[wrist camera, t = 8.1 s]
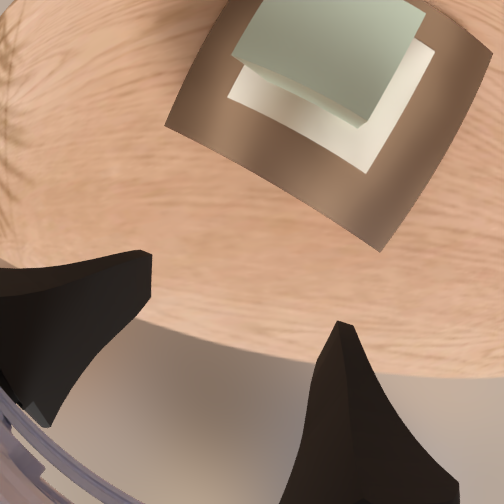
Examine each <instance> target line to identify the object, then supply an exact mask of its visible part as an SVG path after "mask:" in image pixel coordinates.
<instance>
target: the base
mask: <svg viewBox="0 0 504 504" xmlns="http://www.w3.org/2000/svg"><path fill="white" fill-rule="evenodd" d="M404 1H406V2H408V3H409V4H411V5H413V6H414V7H416V8H418V9H420V10H421V11H423V12H424V13H426V15H425V17H424V19H423V21H422V23H421V25H420V27H419V28H418V30H417V32H416V34H415V36H414V38H413V40H412V42H411V44H410V46H409V48H408V49H407V51H406V53H405V55H404V57H403V59H402V61H401V62H400V64H399V66H398V68H397V70H396V72H395V73H394V75H393V77H392V79H391V81H390V83H389V84H388V86H387V88H386V90H385V91H384V93H383V95H382V97H381V99H380V100H379V102H378V104H377V106H376V107H375V109H374V111H373V113H372V114H371V116H370V118H369V120H368V121H367V122H366V123H364V124H363V125H362V126H360V127H359V128H358V129H357V128H355V127H354V126H352V125H350V124H349V123H347V122H345V121H344V120H342V119H340V118H338V117H337V116H335V115H333V114H331V113H330V112H328V111H326V110H324V109H322V108H321V107H319V106H317V105H315V104H313V103H311V102H309V101H307V100H305V99H303V98H301V97H299V96H297V95H295V94H293V93H291V92H289V91H287V90H285V89H283V88H281V87H279V86H276V85H274V84H272V83H270V82H267V81H266V80H265V79H263V78H262V77H261V76H259V75H258V74H257V73H255V72H254V71H253V70H251V69H250V68H249V67H247V66H246V65H245V64H243V63H242V62H240V61H239V60H238V59H236V58H235V57H233V56H232V55H231V54H232V52H233V50H234V49H235V47H236V45H237V43H238V41H239V40H240V38H241V36H242V35H243V33H244V31H245V29H246V28H247V26H248V24H249V23H250V21H251V19H252V18H253V16H254V15H255V13H256V11H257V10H258V8H259V7H260V5H261V3H262V2H263V0H229V1H228V3H227V4H226V6H225V7H224V9H223V10H222V12H221V14H220V15H219V17H218V19H217V20H216V22H215V24H214V25H213V27H212V29H211V31H210V32H209V34H208V36H207V38H206V39H205V41H204V43H203V45H202V47H201V49H200V51H199V52H198V54H197V56H196V58H195V60H194V62H193V64H192V66H191V68H190V70H189V72H188V74H187V76H186V78H185V80H184V82H183V84H182V87H181V89H180V91H179V93H178V95H177V97H176V100H175V102H174V104H173V106H172V109H171V111H170V113H169V116H168V118H167V120H166V123H165V125H164V126H166V127H168V128H170V129H172V130H174V131H176V132H178V133H180V134H182V135H184V136H186V137H188V138H190V139H192V140H194V141H196V142H198V143H200V144H201V145H203V146H205V147H207V148H209V149H211V150H213V151H215V152H217V153H219V154H220V155H222V156H224V157H226V158H228V159H230V160H231V161H233V162H235V163H237V164H239V165H241V166H242V167H244V168H246V169H248V170H249V171H251V172H253V173H255V174H257V175H258V176H260V177H262V178H264V179H265V180H267V181H269V182H270V183H272V184H274V185H276V186H277V187H279V188H281V189H282V190H284V191H286V192H287V193H289V194H291V195H292V196H294V197H296V198H297V199H299V200H300V201H302V202H304V203H305V204H307V205H309V206H310V207H312V208H313V209H315V210H317V211H318V212H320V213H321V214H323V215H324V216H326V217H328V218H329V219H331V220H332V221H334V222H335V223H337V224H338V225H340V226H341V227H343V228H344V229H346V230H348V231H349V232H351V233H352V234H354V235H355V236H356V237H358V238H359V239H361V240H362V241H364V242H365V243H367V244H368V245H370V246H371V247H373V248H374V249H375V250H377V251H378V252H381V251H382V250H383V248H384V247H385V245H386V244H387V243H388V241H389V240H390V239H391V237H392V236H393V234H394V233H395V232H396V230H397V229H398V227H399V226H400V224H401V223H402V222H403V220H404V219H405V217H406V216H407V214H408V213H409V211H410V210H411V208H412V207H413V205H414V204H415V202H416V201H417V199H418V198H419V196H420V195H421V193H422V191H423V190H424V188H425V187H426V185H427V184H428V182H429V180H430V179H431V177H432V175H433V174H434V172H435V170H436V169H437V167H438V165H439V164H440V162H441V160H442V159H443V157H444V155H445V153H446V152H447V150H448V148H449V146H450V144H451V143H452V141H453V139H454V137H455V135H456V133H457V132H458V130H459V128H460V126H461V124H462V122H463V120H464V118H465V116H466V114H467V112H468V110H469V108H470V106H471V104H472V102H473V100H474V97H475V95H476V93H477V91H478V89H479V87H480V84H481V82H482V80H483V77H484V75H485V73H486V70H487V68H488V65H489V63H490V60H491V58H492V55H493V53H492V52H491V51H490V50H489V49H488V48H487V47H486V46H484V45H483V44H482V43H481V42H480V41H479V40H477V39H476V38H475V37H474V36H473V35H471V34H470V33H469V32H468V31H466V30H465V29H464V28H462V27H461V26H460V25H458V24H457V23H456V22H454V21H453V20H452V19H450V18H449V17H447V16H446V15H445V14H443V13H442V12H440V11H439V10H437V9H436V8H434V7H433V6H431V5H429V4H428V3H426V2H425V1H423V0H404Z"/></svg>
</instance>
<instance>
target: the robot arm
mask: <svg viewBox="0 0 504 504" xmlns="http://www.w3.org/2000/svg"><path fill="white" fill-rule="evenodd" d="M151 275H152V254H150V253H147V252H145V251H142V250H133V251H128V252H123V253H118V254H113V255H109V256H105V257H100V258H96V259H92V260H87V261H82V262H77V263H72V264H67V265H60V266H53V267H44V268H23V269H11V268H0V504H74V503H72V502H71V501H70V500H68V499H67V498H66V497H64V496H63V495H62V494H61V493H59V492H58V491H57V490H56V489H54V488H53V487H52V486H51V485H50V484H48V483H47V482H46V481H45V480H44V479H43V478H42V477H40V475H41V474H42V473H43V472H44V471H45V467H44V466H43V465H42V464H41V463H40V462H39V461H38V460H37V459H36V458H35V457H34V456H33V455H32V454H31V453H30V452H29V451H28V450H27V449H26V448H25V447H24V446H23V445H22V444H21V443H20V442H19V441H18V440H17V439H16V438H15V437H14V436H13V434H12V433H11V428H12V427H11V424H12V425H13V427H14V428H15V429H16V430H17V431H18V432H19V433H20V434H21V435H22V436H23V437H24V438H25V439H26V440H27V441H28V442H29V443H30V444H31V445H32V446H33V447H34V448H35V449H36V450H37V451H38V452H39V453H40V454H41V455H42V456H43V457H44V458H46V459H47V460H48V461H49V462H50V463H51V464H52V465H53V466H55V467H56V468H57V469H58V470H59V471H60V472H62V473H63V474H64V475H65V476H67V477H68V478H69V479H70V480H72V481H73V482H74V483H76V484H77V485H78V486H80V487H81V488H82V489H84V490H85V491H86V492H88V493H89V494H91V495H92V496H94V497H95V498H97V499H98V500H100V501H101V502H102V503H104V504H144V503H142V502H140V501H139V500H137V499H135V498H133V497H131V496H130V495H128V494H126V493H125V492H123V491H121V490H120V489H118V488H116V487H115V486H113V485H111V484H110V483H108V482H107V481H105V480H104V479H102V478H101V477H99V476H98V475H96V474H95V473H93V472H92V471H91V470H89V469H88V468H86V467H85V466H83V465H82V464H81V463H80V462H78V461H77V460H76V459H74V458H73V457H72V456H71V455H69V454H68V453H67V452H66V451H64V450H63V449H62V448H61V447H60V446H58V445H57V444H56V443H55V442H54V441H53V440H52V439H50V438H49V437H48V436H47V435H46V434H45V433H44V432H43V431H42V430H41V429H40V428H38V427H37V426H36V425H35V424H34V423H33V422H32V421H31V420H30V419H29V418H28V417H27V416H26V415H25V414H24V413H23V412H22V411H21V409H20V408H18V406H17V405H16V403H17V404H18V405H19V406H20V407H21V408H22V409H23V410H25V411H26V412H27V413H28V414H29V415H30V416H31V417H32V418H33V419H34V420H35V421H36V422H37V423H38V424H39V425H40V426H41V427H44V428H49V427H51V425H52V423H53V421H54V419H55V417H56V415H57V413H58V411H59V409H60V407H61V405H62V403H63V402H64V400H65V399H66V397H67V395H68V394H69V392H70V390H71V388H72V387H73V386H74V384H75V383H76V381H77V380H78V378H79V377H80V376H81V374H82V373H83V371H84V370H85V369H86V367H87V366H88V365H89V364H90V362H91V361H92V360H93V359H94V357H95V356H96V355H97V353H99V352H100V351H101V349H102V348H103V347H104V346H105V345H107V344H108V343H109V342H110V341H111V340H112V339H113V338H114V337H115V336H116V335H117V334H118V333H119V332H120V331H121V330H122V329H123V328H124V327H125V326H126V325H127V324H128V323H129V322H130V321H131V320H133V319H134V318H135V317H136V316H137V314H138V313H139V312H140V311H141V310H142V308H143V307H144V306H145V304H146V303H147V302H148V300H149V299H150V298H151ZM279 504H460V493H459V483H458V481H457V480H455V479H454V478H453V477H452V476H451V475H450V474H449V473H448V472H447V471H445V470H444V469H443V468H442V467H441V466H440V465H439V464H438V463H437V462H436V461H435V460H434V459H433V458H432V457H431V456H430V455H429V454H428V453H427V451H426V450H425V449H424V448H423V447H422V446H421V445H420V443H419V442H418V441H417V440H416V439H415V437H414V436H413V435H412V434H411V432H410V431H409V430H408V428H407V427H406V426H405V424H404V423H403V421H402V420H401V419H400V417H399V416H398V414H397V413H396V411H395V409H394V408H393V406H392V405H391V403H390V402H389V400H388V398H387V396H386V395H385V393H384V391H383V389H382V387H381V385H380V383H379V381H378V380H377V378H376V376H375V373H374V371H373V369H372V367H371V365H370V363H369V361H368V359H367V356H366V354H365V352H364V349H363V347H362V345H361V342H360V340H359V338H358V335H357V333H356V331H355V328H354V326H353V325H350V324H347V323H344V322H341V321H337V322H336V324H335V326H334V328H333V330H332V332H331V334H330V336H329V338H328V340H327V342H326V344H325V346H324V348H323V350H322V352H321V354H320V355H319V357H318V359H317V362H316V365H315V369H314V373H313V377H312V381H311V386H310V391H309V398H308V405H307V411H306V418H305V424H304V429H303V435H302V439H301V444H300V448H299V451H298V454H297V457H296V460H295V463H294V466H293V469H292V472H291V475H290V477H289V480H288V483H287V485H286V488H285V491H284V493H283V495H282V498H281V500H280V503H279Z"/></svg>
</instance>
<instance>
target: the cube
mask: <svg viewBox="0 0 504 504" xmlns="http://www.w3.org/2000/svg"><path fill="white" fill-rule="evenodd" d="M425 15H426V13H424V12H423V11H421V10H420V9H418V8H416V7H414V6H413V5H411V4H409V3H408V2H406V1H404V0H263V2H262V3H261V5H260V7H259V8H258V10H257V11H256V13H255V15H254V16H253V18H252V19H251V21H250V23H249V24H248V26H247V28H246V29H245V31H244V33H243V35H242V36H241V38H240V40H239V41H238V43H237V45H236V47H235V49H234V50H233V52H232V54H231V55H232V56H233V57H235V58H236V59H238V60H239V61H240V62H242V63H243V64H245V65H246V66H247V67H249V68H250V69H251V70H253V71H254V72H255V73H257V74H258V75H259V76H261V77H262V78H263V79H265V80H266V81H267V82H270V83H272V84H274V85H276V86H279V87H281V88H283V89H285V90H287V91H289V92H291V93H293V94H295V95H297V96H299V97H301V98H303V99H305V100H307V101H309V102H311V103H313V104H315V105H317V106H319V107H321V108H322V109H324V110H326V111H328V112H330V113H331V114H333V115H335V116H337V117H338V118H340V119H342V120H344V121H345V122H347V123H349V124H350V125H352V126H354V127H355V128H357V129H358V128H359V127H360V126H362V125H363V124H364V123H366V122H367V121H368V120H369V118H370V116H371V114H372V113H373V111H374V109H375V107H376V106H377V104H378V102H379V100H380V99H381V97H382V95H383V93H384V91H385V90H386V88H387V86H388V84H389V83H390V81H391V79H392V77H393V75H394V73H395V72H396V70H397V68H398V66H399V64H400V62H401V61H402V59H403V57H404V55H405V53H406V51H407V49H408V48H409V46H410V44H411V42H412V40H413V38H414V36H415V34H416V32H417V30H418V28H419V27H420V25H421V23H422V21H423V19H424V17H425Z"/></svg>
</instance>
